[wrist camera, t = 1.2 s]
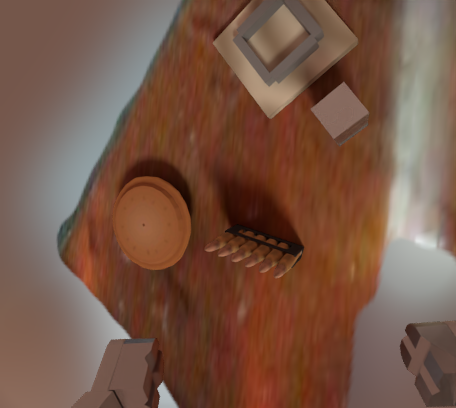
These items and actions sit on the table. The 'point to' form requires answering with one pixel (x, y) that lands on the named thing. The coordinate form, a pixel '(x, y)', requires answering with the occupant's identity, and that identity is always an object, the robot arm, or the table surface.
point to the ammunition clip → (257, 249)
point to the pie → (151, 222)
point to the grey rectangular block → (341, 114)
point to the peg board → (283, 48)
